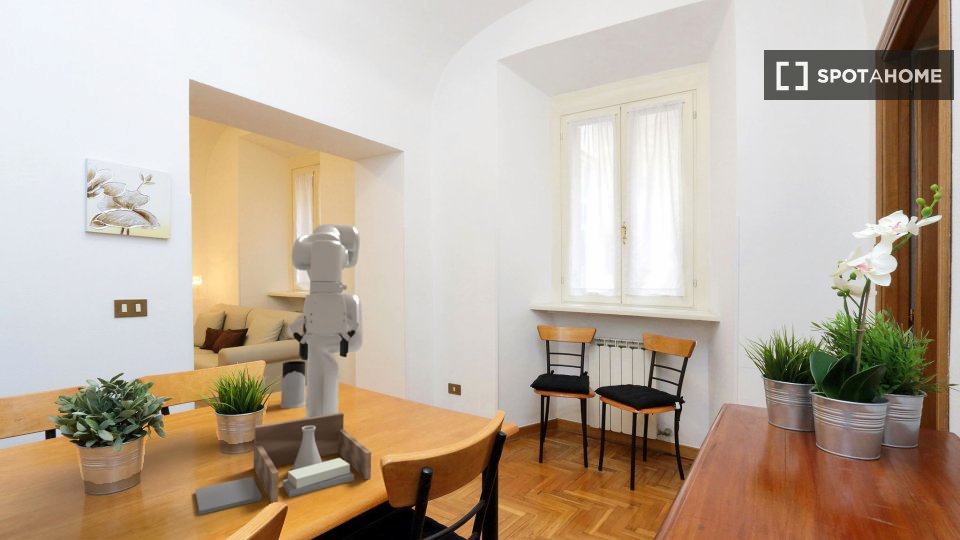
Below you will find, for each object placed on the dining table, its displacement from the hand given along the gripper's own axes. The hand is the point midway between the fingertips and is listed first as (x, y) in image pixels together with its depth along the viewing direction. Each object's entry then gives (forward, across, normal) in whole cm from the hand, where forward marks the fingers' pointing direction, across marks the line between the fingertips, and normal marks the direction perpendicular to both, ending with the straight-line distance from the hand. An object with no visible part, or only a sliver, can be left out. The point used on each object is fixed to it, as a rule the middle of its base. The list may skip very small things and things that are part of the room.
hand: (324, 358), depth 115 cm
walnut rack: (+26, +4, +4) cm, 27 cm away
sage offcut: (+25, +4, +10) cm, 27 cm away
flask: (+26, +4, +1) cm, 27 cm away
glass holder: (+24, -9, -61) cm, 66 cm away
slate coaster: (+26, +21, +5) cm, 34 cm away
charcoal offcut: (+27, +4, +10) cm, 29 cm away
